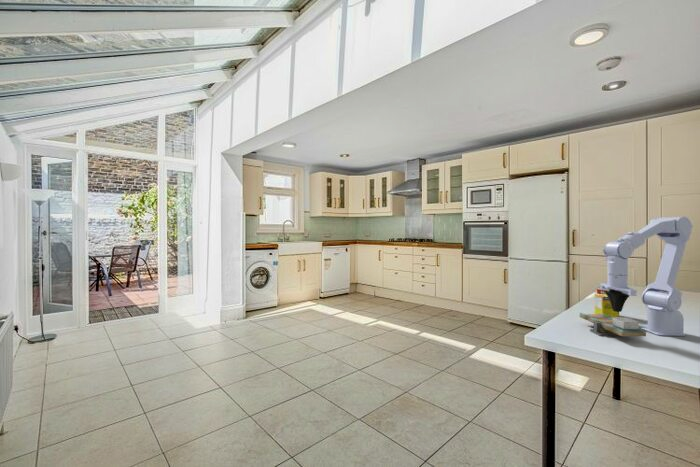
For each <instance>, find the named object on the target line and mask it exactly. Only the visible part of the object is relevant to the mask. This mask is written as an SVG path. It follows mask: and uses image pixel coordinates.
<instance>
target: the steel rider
mask: <svg viewBox="0 0 700 467" xmlns="http://www.w3.org/2000/svg"><path fill="white" fill-rule="evenodd" d="M639 324H640V322H639V321H638V320H634V319H633V318H630V317H626V316H625V317H622V316H619V317H613V327H616V328H618V329H620V330H626V331H639V329H640V328H639V326H640V325H639Z"/></svg>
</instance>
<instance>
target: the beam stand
mask: <svg viewBox="0 0 700 467" xmlns="http://www.w3.org/2000/svg"><path fill="white" fill-rule="evenodd" d="M589 331H590V332H591V333H593V334H596V335H597V336H607V337H621V336H620V335H618V334H616V333H614V332H611V331H609V330H607V329H605V328H602V327H601V323H600V322H594V323H593V328H590V329H589Z"/></svg>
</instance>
